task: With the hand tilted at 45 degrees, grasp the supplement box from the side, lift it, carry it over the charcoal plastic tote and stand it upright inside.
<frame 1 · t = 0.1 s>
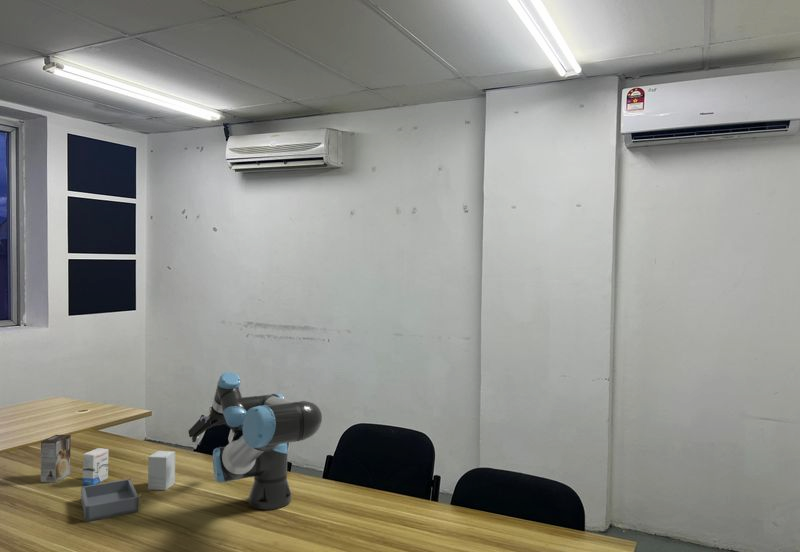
hand: (212, 443, 219), 15 cm above the table, tool tilted 35°, fingers open, 13 cm apart
coffee box: (55, 478, 219), on the table
tote: (109, 506, 195), on the table
supplement box: (161, 486, 214), on the table
ink box: (95, 481, 217), on the table
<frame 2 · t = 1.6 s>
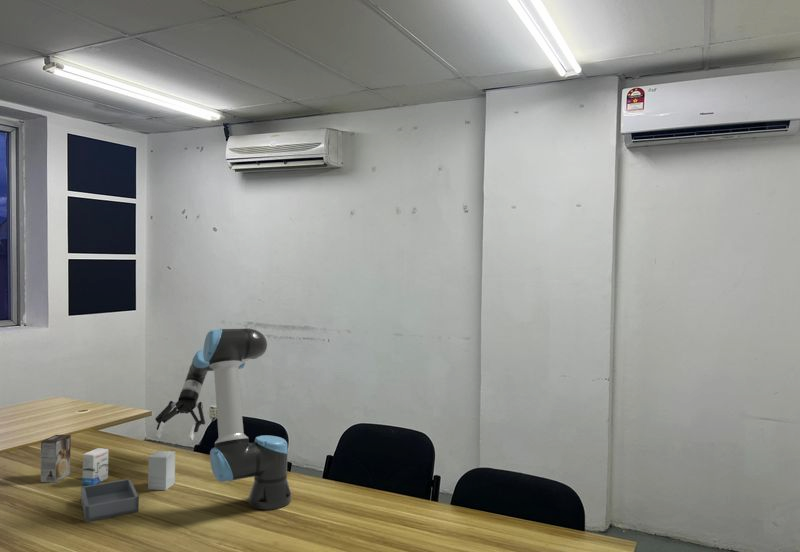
hand: (174, 438, 224), 15 cm above the table, tool tilted 45°, fingers open, 13 cm apart
nothing on the table moved.
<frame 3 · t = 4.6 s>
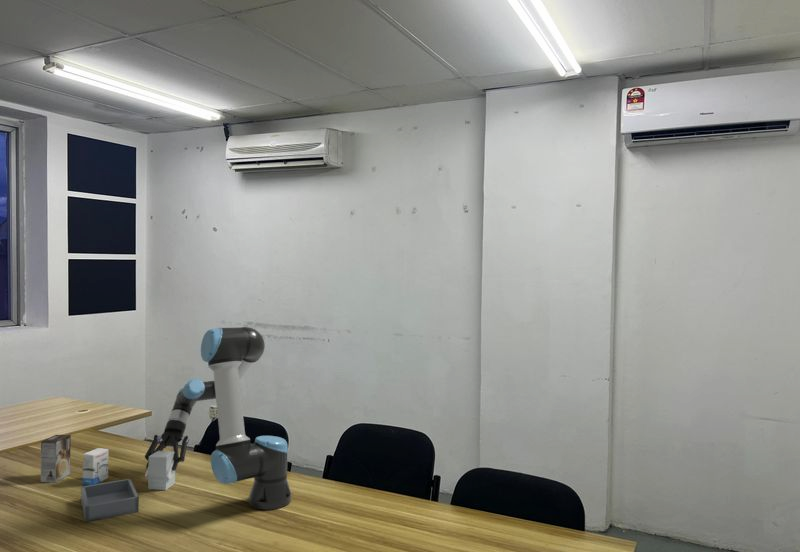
hand: (157, 477, 210), 5 cm above the table, tool tilted 45°, fingers closed on supplement box, 7 cm apart
supplement box: (161, 486, 214), on the table, touching gripper
everything else where it was.
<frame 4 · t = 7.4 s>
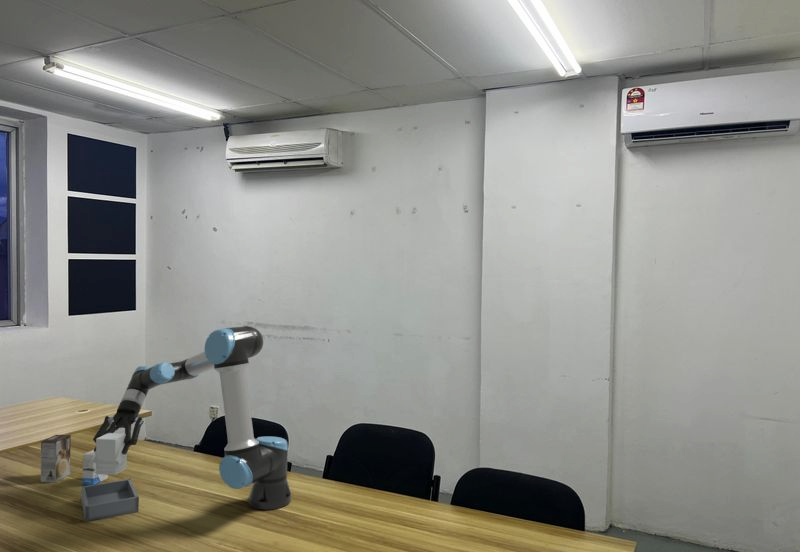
hand: (105, 461, 192), 17 cm above the table, tool tilted 45°, fingers closed on supplement box, 7 cm apart
supplement box: (111, 472, 196), point 12 cm above the table, touching gripper
everything else where it was.
when the fingers open (6 cm above the table, at t = 10.2 s): supplement box stays where it is, resting on tote.
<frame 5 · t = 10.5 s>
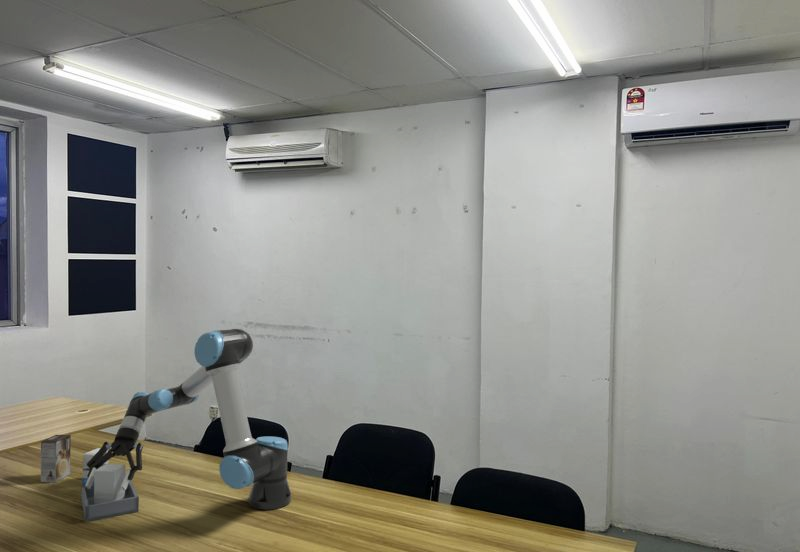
hand: (105, 488, 192), 7 cm above the table, tool tilted 45°, fingers open, 12 cm apart
supplement box: (109, 503, 195), point 1 cm above the table, touching tote
everything else where it was.
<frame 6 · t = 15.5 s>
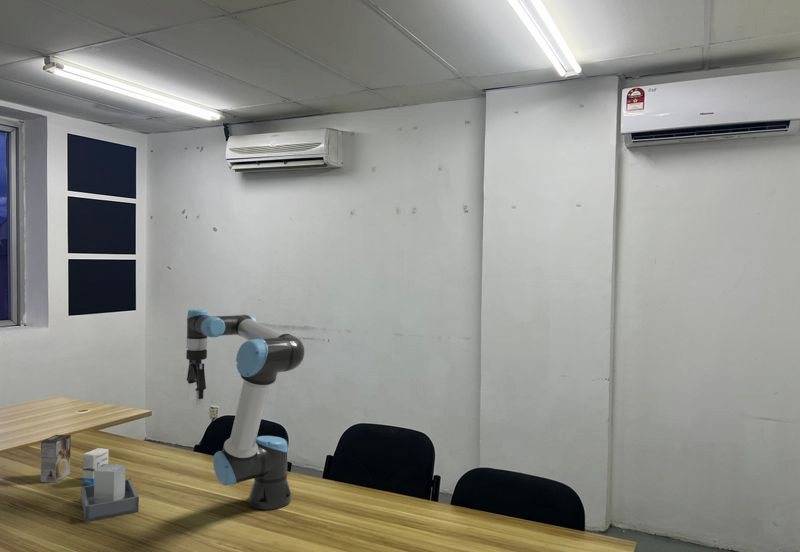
hand: (195, 403, 216), 32 cm above the table, tool pointing down, fingers open, 13 cm apart
nothing on the table moved.
at the end: supplement box inside the target area on the tote (0.1 cm from its centre), point 0.8 cm above the tote's base; supplement box tilted 0°; the gripper is holding nothing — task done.
